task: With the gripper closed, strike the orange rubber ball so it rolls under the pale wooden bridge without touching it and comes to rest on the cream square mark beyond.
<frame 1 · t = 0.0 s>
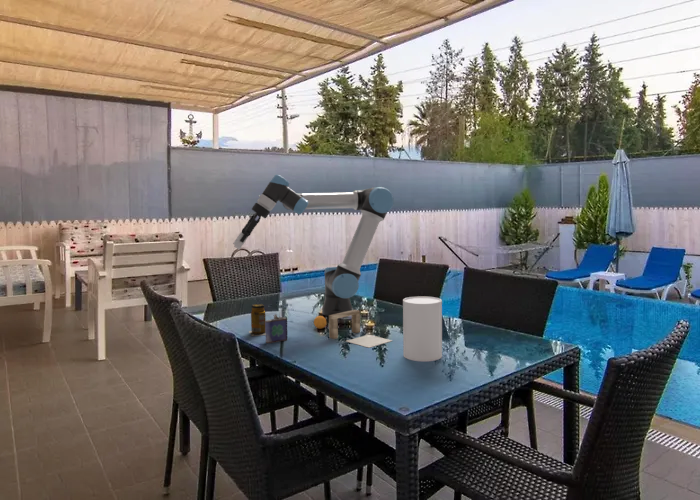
hand: (236, 246, 228), 36 cm above the table, tool tilted 35°, fingers open, 13 cm apart
canister: (422, 356, 185), on the table
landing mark: (368, 341, 205), on the table
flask: (276, 341, 208), on the table
condiment: (258, 333, 221), on the table
bridge: (345, 334, 215), on the table
ball: (320, 322, 226), on the table
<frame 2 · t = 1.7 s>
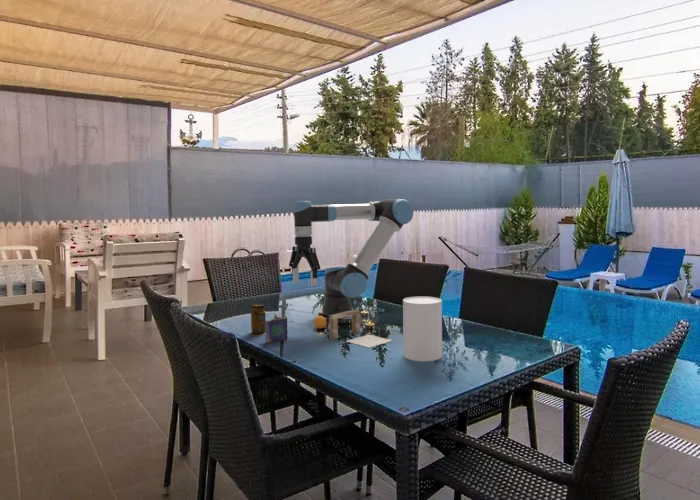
hand: (304, 284, 232), 18 cm above the table, tool pointing down, fingers open, 12 cm apart
nothing on the table moved.
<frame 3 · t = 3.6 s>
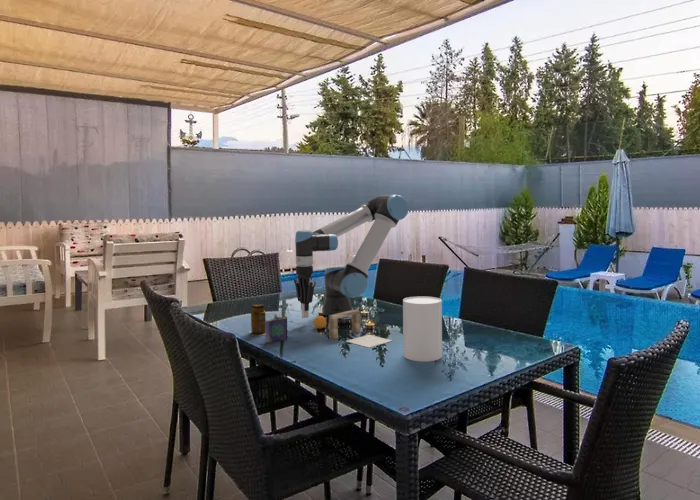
hand: (305, 317, 234), 3 cm above the table, tool pointing down, fingers closed
nothing on the table moved.
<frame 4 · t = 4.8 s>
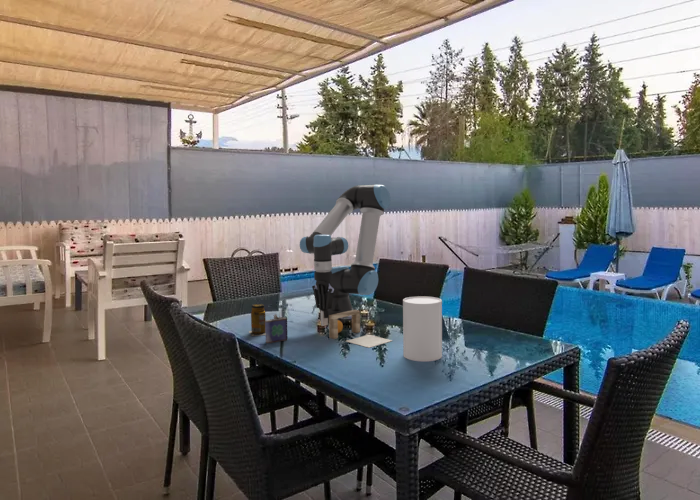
hand: (324, 325, 224), 2 cm above the table, tool pointing down, fingers closed
ball: (336, 326, 218), on the table
everything else where it was.
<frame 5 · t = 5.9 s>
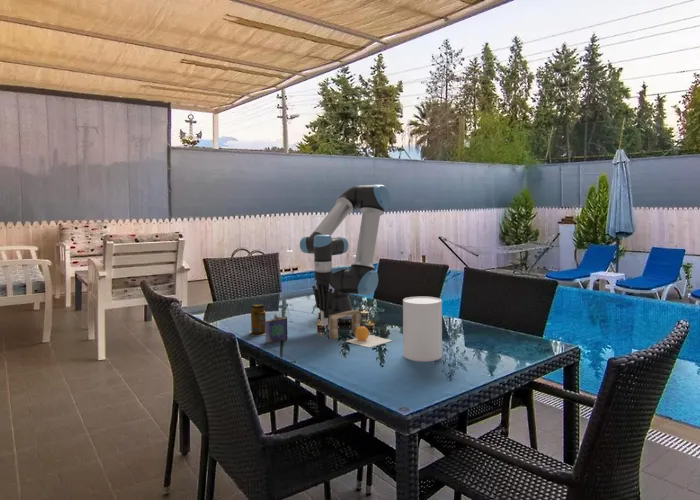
hand: (324, 325, 224), 2 cm above the table, tool pointing down, fingers closed
ball: (362, 333, 206), on the table
everything else where it was.
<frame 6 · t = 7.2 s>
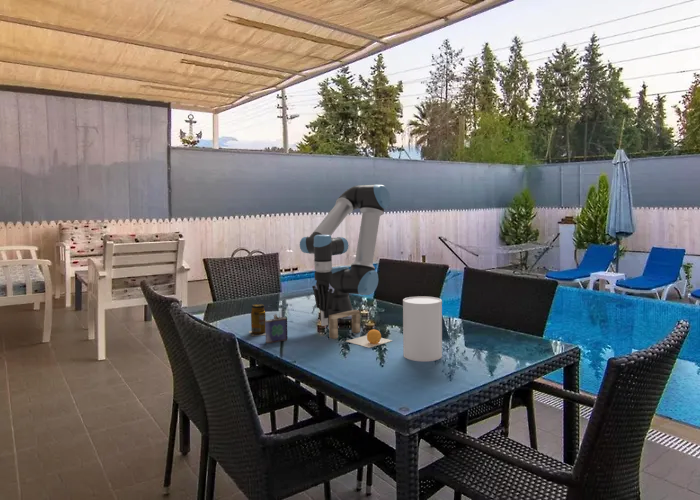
hand: (324, 325, 224), 2 cm above the table, tool pointing down, fingers closed
ball: (374, 336, 201), on the table
everything else where it was.
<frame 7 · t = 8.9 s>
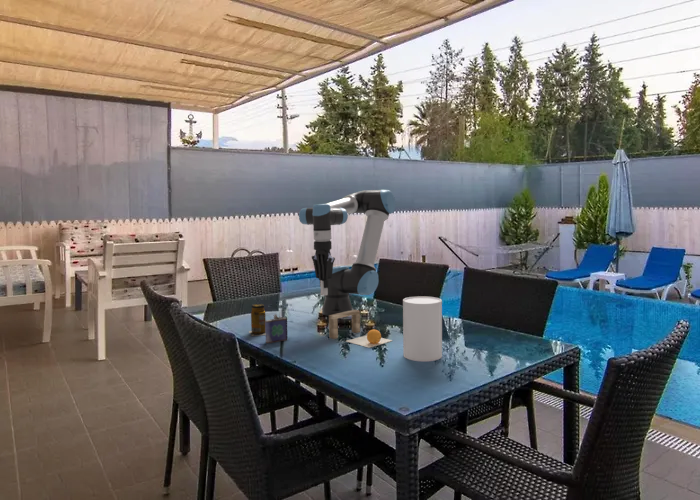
hand: (324, 295, 223), 15 cm above the table, tool pointing down, fingers closed
nothing on the table moved.
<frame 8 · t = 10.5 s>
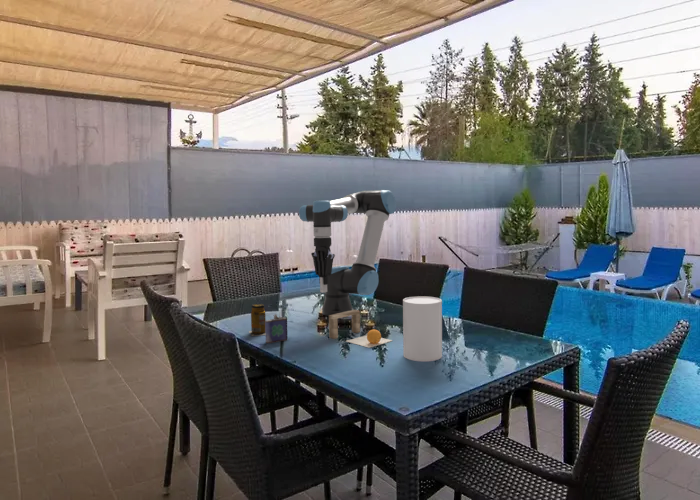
hand: (323, 291, 223), 16 cm above the table, tool pointing down, fingers closed
nothing on the table moved.
at the end: ball 4.0 cm from the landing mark (horizontally); ball never touched bridge; ball at rest at the end (0.0 cm/s) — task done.
